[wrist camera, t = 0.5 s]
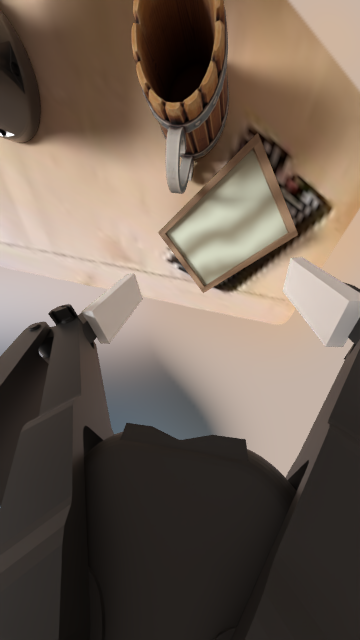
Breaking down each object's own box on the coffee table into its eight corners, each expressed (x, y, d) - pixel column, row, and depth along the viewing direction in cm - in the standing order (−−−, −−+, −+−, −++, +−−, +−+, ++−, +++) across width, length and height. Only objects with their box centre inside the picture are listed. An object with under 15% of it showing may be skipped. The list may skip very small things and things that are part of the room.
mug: (162, 57, 23) (104, -104, 11) (236, 56, 22) (261, -122, 10) (162, 194, 32) (130, 187, 20) (214, 198, 31) (212, 194, 19)
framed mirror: (164, 229, 36) (158, 232, 32) (251, 144, 26) (257, 132, 22) (204, 284, 42) (203, 293, 38) (287, 230, 32) (298, 234, 28)
